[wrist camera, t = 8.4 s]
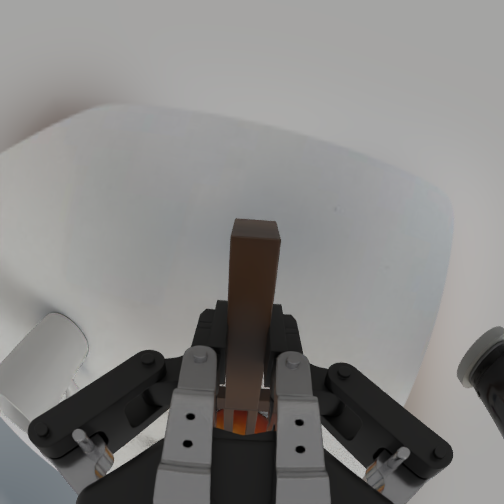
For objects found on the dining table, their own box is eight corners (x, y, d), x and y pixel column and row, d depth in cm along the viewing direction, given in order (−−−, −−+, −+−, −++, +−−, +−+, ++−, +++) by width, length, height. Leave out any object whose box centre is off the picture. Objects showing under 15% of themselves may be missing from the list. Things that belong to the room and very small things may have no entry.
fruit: (266, 449, 28) (234, 489, 21) (219, 412, 31) (180, 445, 24) (303, 420, 25) (272, 469, 18) (248, 377, 28) (205, 416, 21)
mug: (35, 309, 23) (-27, 376, 11) (74, 309, 22) (6, 393, 11) (71, 376, 26) (32, 445, 15) (112, 382, 26) (74, 464, 15)
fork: (196, 215, 12) (183, 232, 10) (314, 224, 12) (327, 242, 10) (205, 426, 18) (201, 450, 16) (272, 430, 18) (273, 454, 16)
